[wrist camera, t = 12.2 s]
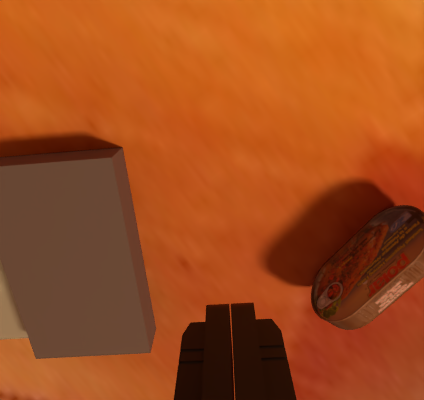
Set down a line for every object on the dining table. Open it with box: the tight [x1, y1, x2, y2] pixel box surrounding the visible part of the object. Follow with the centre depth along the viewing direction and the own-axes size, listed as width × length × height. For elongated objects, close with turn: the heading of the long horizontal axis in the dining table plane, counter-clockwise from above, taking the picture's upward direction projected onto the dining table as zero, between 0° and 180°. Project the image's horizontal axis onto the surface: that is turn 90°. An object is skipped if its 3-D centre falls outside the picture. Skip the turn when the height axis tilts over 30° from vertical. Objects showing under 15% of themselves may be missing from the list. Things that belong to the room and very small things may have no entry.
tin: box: [311, 205, 424, 330], centre depth 37 cm, size 15×3×8 cm, turn 142°
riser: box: [0, 147, 156, 359], centre depth 40 cm, size 24×14×4 cm, turn 5°
